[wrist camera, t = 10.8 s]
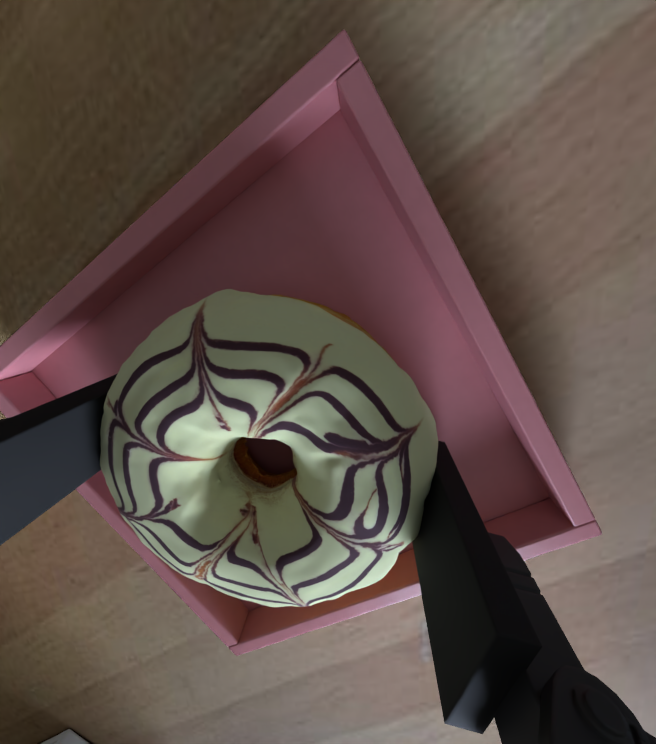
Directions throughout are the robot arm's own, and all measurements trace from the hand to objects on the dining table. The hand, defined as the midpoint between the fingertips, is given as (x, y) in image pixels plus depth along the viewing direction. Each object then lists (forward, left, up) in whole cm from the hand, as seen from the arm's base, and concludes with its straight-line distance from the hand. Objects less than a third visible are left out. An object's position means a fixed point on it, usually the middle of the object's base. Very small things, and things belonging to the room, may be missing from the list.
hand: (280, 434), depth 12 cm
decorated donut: (0, 0, 0) cm, 0 cm away
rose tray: (0, 0, -1) cm, 1 cm away
